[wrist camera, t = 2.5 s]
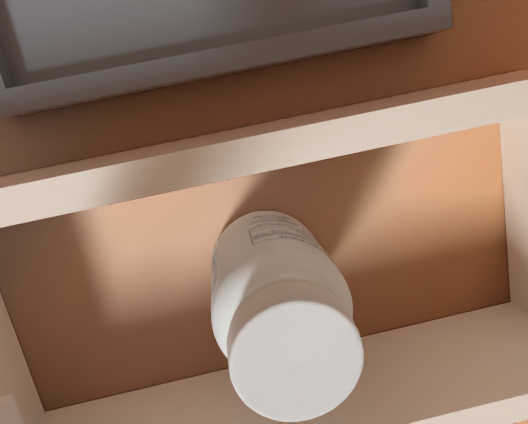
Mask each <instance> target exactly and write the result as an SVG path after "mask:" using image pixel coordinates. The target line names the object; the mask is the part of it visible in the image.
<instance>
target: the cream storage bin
mask: <svg viewBox="0 0 528 424" xmlns="http://www.w3.org/2000/svg"><path fill="white" fill-rule="evenodd" d="M494 123H499V125H500V140H501V156H502V172H503V188H504V204H505V220H506V236H507V252H508V268H509V284H510V300H511V302H508V303H504V304H500V305H495V306H491V307H487V308H483V309H478V310H474V311H470V312H466V313H461V314H457V315H453V316H449V317H445V318H440V319H436V320H432V321H428V322H423V323H419V324H415V325H411V326H406V327H402V328H398V329H394V330H389V331H385V332H381V333H377V334H372V335H368V336H364V337H361V338H362V342H363V348H364V363H363V369H362V373H361V375H360V377H359V380H358V382H357V384H356V386H355V387H354V389H353V390H352V392H351V393H350V394H349V396H348V397H347V398H346V399H345V400H344V401H343V402H341V403H340V404H339V405H338V406H337V407H335V408H334V409H333V410H331V411H329V412H327V413H325V414H323V415H321V416H318V417H316V418H313V419H310V420H305V421H299V422H282V421H277V420H273V419H270V418H267V417H264V416H262V415H260V414H258V413H256V412H255V411H254V410H252V409H251V408H249V407H248V406H247V405H246V404H245V403H244V402H243V401H242V400H241V398H240V397H239V396H238V394H237V392H236V391H235V389H234V386H233V384H232V382H231V379H230V375H229V368H228V369H224V370H220V371H216V372H211V373H207V374H203V375H199V376H194V377H190V378H186V379H182V380H177V381H173V382H169V383H165V384H160V385H156V386H152V387H148V388H143V389H139V390H135V391H131V392H126V393H122V394H118V395H114V396H110V397H105V398H101V399H97V400H93V401H88V402H84V403H80V404H76V405H71V406H67V407H63V408H59V409H54V410H50V411H46V412H44V409H43V406H42V404H41V401H40V398H39V396H38V393H37V390H36V387H35V385H34V382H33V379H32V377H31V374H30V371H29V369H28V366H27V363H26V360H25V358H24V355H23V352H22V350H21V347H20V344H19V342H18V339H17V336H16V333H15V331H14V328H13V325H12V323H11V320H10V317H9V315H8V312H7V309H6V306H5V304H4V301H3V298H2V296H1V293H0V396H4V395H9V394H12V395H13V397H14V400H15V402H16V405H17V408H18V410H19V413H20V415H21V418H22V420H23V423H24V424H513V423H517V422H521V421H525V420H528V69H526V70H519V71H514V72H509V73H504V74H499V75H495V76H490V77H485V78H480V79H475V80H470V81H465V82H460V83H455V84H451V85H446V86H441V87H436V88H431V89H426V90H421V91H416V92H411V93H407V94H402V95H397V96H392V97H387V98H382V99H377V100H372V101H368V102H363V103H358V104H353V105H348V106H343V107H338V108H333V109H328V110H324V111H319V112H314V113H309V114H304V115H299V116H294V117H289V118H284V119H280V120H275V121H270V122H265V123H260V124H255V125H250V126H245V127H241V128H236V129H231V130H226V131H221V132H216V133H211V134H206V135H201V136H197V137H192V138H187V139H182V140H177V141H172V142H167V143H162V144H157V145H153V146H148V147H143V148H138V149H133V150H128V151H123V152H118V153H114V154H109V155H104V156H99V157H94V158H89V159H84V160H79V161H74V162H70V163H65V164H60V165H55V166H50V167H45V168H40V169H35V170H30V171H26V172H21V173H16V174H11V175H6V176H1V177H0V228H2V227H6V226H11V225H16V224H21V223H25V222H30V221H35V220H40V219H44V218H49V217H54V216H59V215H63V214H68V213H73V212H78V211H82V210H87V209H92V208H96V207H101V206H106V205H111V204H115V203H120V202H125V201H130V200H134V199H139V198H144V197H149V196H153V195H158V194H163V193H167V192H172V191H177V190H182V189H186V188H191V187H196V186H201V185H205V184H210V183H215V182H220V181H224V180H229V179H234V178H238V177H243V176H248V175H253V174H257V173H262V172H267V171H272V170H276V169H281V168H286V167H291V166H295V165H300V164H305V163H310V162H314V161H319V160H324V159H328V158H333V157H338V156H343V155H347V154H352V153H357V152H362V151H366V150H371V149H376V148H381V147H385V146H390V145H395V144H399V143H404V142H409V141H414V140H418V139H423V138H428V137H433V136H437V135H442V134H447V133H452V132H456V131H461V130H466V129H471V128H475V127H480V126H485V125H489V124H494Z"/></svg>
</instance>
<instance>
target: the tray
mask: <svg viewBox="0 0 528 424" xmlns="http://www.w3.org/2000/svg"><path fill="white" fill-rule="evenodd" d="M451 27H453V22H452V10H451V0H0V118H7V117H15V116H20V115H25V114H30V113H35V112H40V111H45V110H50V109H55V108H60V107H65V106H70V105H76V104H81V103H86V102H91V101H96V100H101V99H106V98H111V97H116V96H121V95H126V94H131V93H136V92H141V91H146V90H152V89H157V88H162V87H167V86H172V85H177V84H182V83H187V82H192V81H197V80H202V79H207V78H212V77H217V76H222V75H228V74H233V73H238V72H243V71H248V70H253V69H258V68H263V67H268V66H273V65H278V64H283V63H288V62H293V61H298V60H303V59H309V58H314V57H319V56H324V55H329V54H334V53H339V52H344V51H349V50H354V49H359V48H364V47H369V46H374V45H379V44H385V43H390V42H395V41H400V40H405V39H410V38H415V37H420V36H425V35H430V34H434V33H436V32H439V31H442V30H445V29H448V28H451Z"/></svg>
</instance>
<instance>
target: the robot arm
mask: <svg viewBox="0 0 528 424" xmlns="http://www.w3.org/2000/svg"><path fill="white" fill-rule="evenodd" d="M0 424H24V423H23V420H22V418H21V415H20V413H19V410H18V408H17V405H16V402H15V400H14V397H13V395H12V394H9V395H4V396H0Z"/></svg>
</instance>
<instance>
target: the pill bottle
mask: <svg viewBox="0 0 528 424" xmlns="http://www.w3.org/2000/svg"><path fill="white" fill-rule="evenodd" d="M211 323H212V329H213V333H214V336H215V339H216V341H217V343H218V345H219V347H220V349H221V350H222V352H223V353H224V355H225V356H226V357H227V358H228V367H229V375H230V379H231V382H232V384H233V386H234V389H235V391H236V392H237V394H238V396H239V397H240V398H241V400H242V401H243V402H244V403H245V404H246V405H247V406H248V407H249V408H251V409H252V410H254V411H255V412H256V413H258V414H260V415H262V416H264V417H267V418H270V419H273V420H277V421H282V422H299V421H305V420H310V419H313V418H316V417H318V416H321V415H323V414H325V413H327V412H329V411H331V410H333V409H334V408H335V407H337V406H338V405H339V404H340V403H341V402H343V401H344V400H345V399H346V398H347V397H348V396H349V394H350V393H351V392H352V390H353V389H354V387H355V386H356V384H357V382H358V380H359V377H360V375H361V373H362V369H363V363H364V348H363V342H362V338H361V336H360V333H359V331H358V329H357V327H356V325H355V323H354V321H353V303H352V296H351V293H350V290H349V287H348V285H347V282H346V280H345V279H344V277H343V275H342V274H341V272H340V271H339V269H338V268H337V267H336V265H335V264H334V263H333V261H332V260H331V259H330V257H329V256H328V255H327V254H326V252H325V251H324V250H323V248H322V247H321V246H320V245H319V243H318V242H317V241H316V239H315V238H314V237H313V235H312V234H311V233H310V232H309V231H308V229H307V228H306V227H305V226H304V225H303V224H302V223H301V222H299V221H298V220H297V219H295V218H293V217H291V216H289V215H287V214H284V213H281V212H277V211H256V212H251V213H249V214H246V215H244V216H242V217H240V218H238V219H236V220H235V221H234V222H232V223H231V224H230V225H229V226H228V227H227V228H226V229H225V230H224V231H223V232H222V234H221V235H220V237H219V238H218V240H217V242H216V245H215V248H214V251H213V255H212V275H211Z"/></svg>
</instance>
